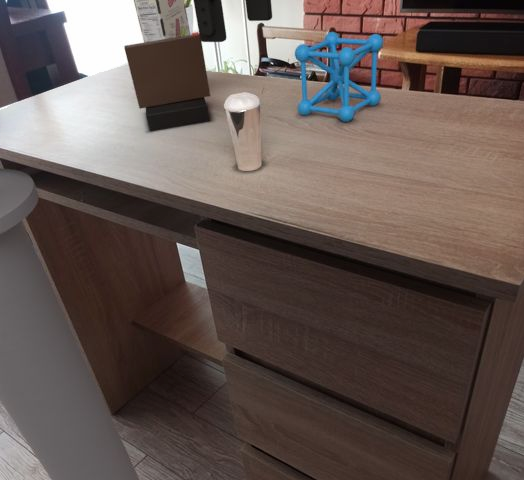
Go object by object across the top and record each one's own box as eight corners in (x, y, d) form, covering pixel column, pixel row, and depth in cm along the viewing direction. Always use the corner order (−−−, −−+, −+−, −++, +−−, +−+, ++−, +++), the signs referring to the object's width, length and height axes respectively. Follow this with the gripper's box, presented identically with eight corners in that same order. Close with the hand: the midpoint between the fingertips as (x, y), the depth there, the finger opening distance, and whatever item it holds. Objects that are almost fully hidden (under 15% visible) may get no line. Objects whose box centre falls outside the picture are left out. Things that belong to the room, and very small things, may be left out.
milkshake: (269, 173, 68) (261, 90, 61) (229, 174, 69) (217, 93, 62) (274, 158, 71) (267, 79, 64) (237, 160, 72) (226, 82, 65)
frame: (139, 108, 86) (123, 46, 80) (139, 105, 87) (123, 43, 81) (210, 96, 87) (200, 33, 81) (209, 93, 88) (199, 31, 82)
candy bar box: (177, 78, 108) (158, -17, 97) (199, 77, 107) (182, -20, 96) (154, 95, 100) (131, -6, 89) (177, 95, 99) (157, -8, 88)
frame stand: (149, 131, 85) (145, 115, 83) (148, 113, 92) (144, 98, 91) (209, 121, 86) (207, 105, 84) (203, 103, 93) (201, 88, 91)
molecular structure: (383, 104, 83) (386, 32, 76) (348, 125, 78) (349, 49, 71) (330, 97, 88) (329, 29, 82) (295, 116, 83) (291, 45, 76)
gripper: (229, -175, 55) (250, 13, 66) (118, -173, 45) (165, 50, 56) (291, -190, 52) (302, 12, 63) (186, -191, 41) (222, 51, 53)
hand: (238, 30), depth 59 cm, fingers open, 9 cm apart
